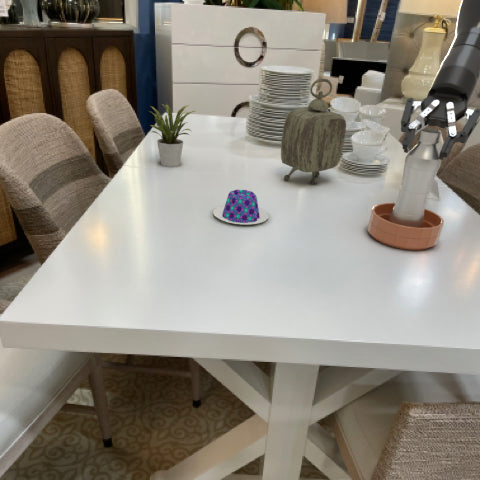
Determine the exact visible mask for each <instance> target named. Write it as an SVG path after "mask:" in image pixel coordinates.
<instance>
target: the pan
mask: <svg viewBox="0 0 480 480" xmlns="http://www.w3.org/2000/svg"><path fill="white" fill-rule="evenodd" d="M395 203H396V202H383V203H378V204H376V205H374V206H373V207H372V209H371V212H370V215H369V216H370V217H369V221H368V225H367V231H368V233H369V235H371V236H372V238H373V239H374V240H376V241H377V242H378V243H381V244H384V245H385V246H388V247H392V248H395V249H399V250H400V249H401V250H407V251H422V250H427V249H430V248H432V247H435V246H436V245H437V244H438V243H439V240H440V236H441V233H442V230H443V228H444V222H445V221H444V219H443V218H442V216H441V215H439V214H437V213H436V212H435V211H432V210H429V209H427V208H425V210H424V219H423V224H422V226H421V228H416V227H408V226H403V225H398V224H395V223H392V222H389V217H390V214H391V212H392V210H393V208H394V207H395Z"/></svg>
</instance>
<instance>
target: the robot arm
mask: <svg viewBox="0 0 480 480" xmlns="http://www.w3.org/2000/svg"><path fill="white" fill-rule="evenodd" d="M457 14H458V15H457V21H456V27H455V36H454V39H453V40H452V43H451V46H450V48H449V49H448V52H447V54H446V56H445V57H444V59H443V60H442V62H441V64H440V66H439V67H438V69H437V72H436V75H435V77H434V80H433V82H432V84H431V86H430V88H429V90H428V92H427V95H426V96H425V97H424V98H423V99H422V100H421V101H419V100H414V98H413V97H409V98H407V99H406V102H405V106H404V110H403V112H402V116H401V119H400V132H402V133H405V135H404V138H403V140H402V142H401V143H402V150H403V153H404V154H405V153H406V154H408V153H409V152H410V150H411V148H412V145H413V143H414V140H415V139H416V135H417V134H419V133H420V130H421V129H427V127H439V128H440V129H446V135H447V136H446V138H445V140H444V142H443V144H442V147H441V149H440V151H439V153H440V154H439V159H440V160H441V161H444V159H446V158H448V157H449V156H450V154H451V151H452V150H453V147H454V145H455V144H456V143H460V144H466V143H467V141H468V139H470V137H471V135H472V133H473V132H474V130H475V128H476V127H477V125H478V124H479V122H480V107H478V108H475V109H471V108H468V104H469V103H470V99H471V97H472V95H473V93H474V90H475V88H476V86H477V83H478V81H479V79H480V0H461V3H460V6H459V9H458V13H457ZM418 110H420V113H419V114H418V115H417V116H416V118H415V119H414V120H413V121H412V122H411V119H412V116H413V115H415V113H416V112H417V111H418ZM465 117H466V119H465V121H466V123H465V125H464V126H463V127H462V129H461V131H457V126H456V124H457V122H458V121H460V120H462V119H463V118H465Z"/></svg>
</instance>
